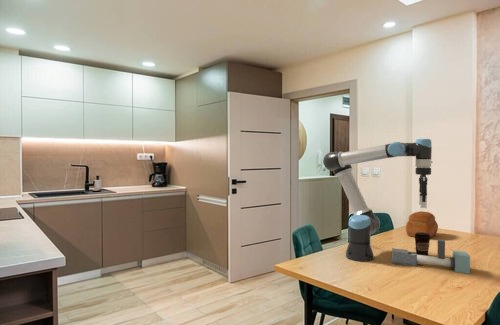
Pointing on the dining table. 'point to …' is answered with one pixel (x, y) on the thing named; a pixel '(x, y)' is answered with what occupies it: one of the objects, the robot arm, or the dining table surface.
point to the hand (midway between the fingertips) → (422, 206)
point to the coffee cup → (422, 243)
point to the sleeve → (404, 257)
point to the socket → (461, 262)
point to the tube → (439, 259)
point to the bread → (421, 224)
